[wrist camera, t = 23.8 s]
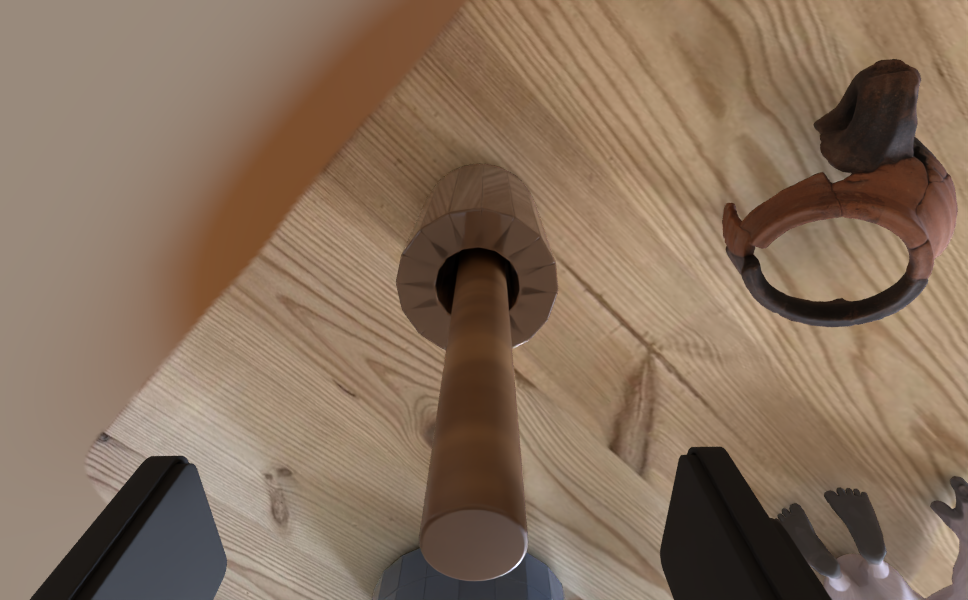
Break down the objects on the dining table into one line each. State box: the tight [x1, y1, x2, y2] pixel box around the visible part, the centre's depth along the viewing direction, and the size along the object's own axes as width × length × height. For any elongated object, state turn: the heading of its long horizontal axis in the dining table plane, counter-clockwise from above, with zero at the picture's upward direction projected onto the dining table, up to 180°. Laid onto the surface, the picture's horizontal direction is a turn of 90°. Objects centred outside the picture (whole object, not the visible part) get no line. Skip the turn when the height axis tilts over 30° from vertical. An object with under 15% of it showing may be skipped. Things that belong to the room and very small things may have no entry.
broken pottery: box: [722, 59, 958, 327], centre depth 24 cm, size 12×10×8 cm
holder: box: [396, 164, 558, 350], centre depth 24 cm, size 6×6×9 cm
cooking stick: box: [419, 247, 528, 581], centre depth 18 cm, size 2×2×20 cm
